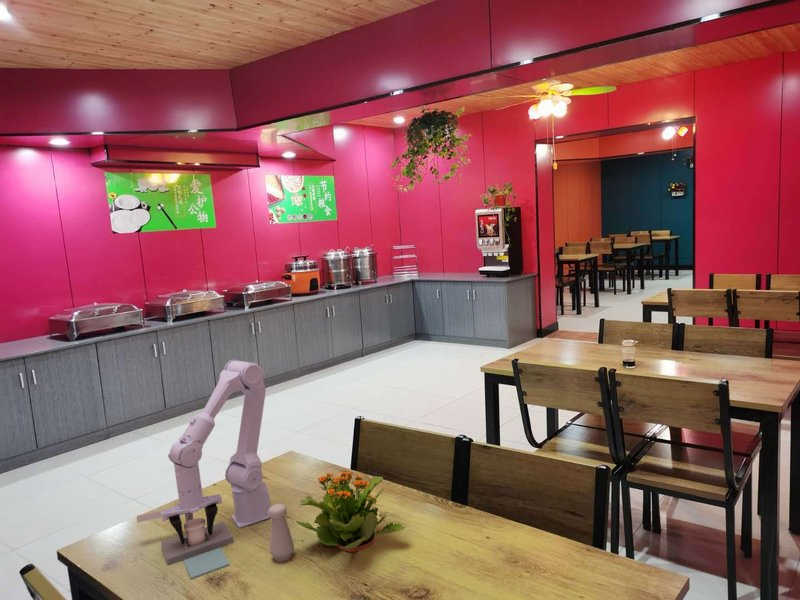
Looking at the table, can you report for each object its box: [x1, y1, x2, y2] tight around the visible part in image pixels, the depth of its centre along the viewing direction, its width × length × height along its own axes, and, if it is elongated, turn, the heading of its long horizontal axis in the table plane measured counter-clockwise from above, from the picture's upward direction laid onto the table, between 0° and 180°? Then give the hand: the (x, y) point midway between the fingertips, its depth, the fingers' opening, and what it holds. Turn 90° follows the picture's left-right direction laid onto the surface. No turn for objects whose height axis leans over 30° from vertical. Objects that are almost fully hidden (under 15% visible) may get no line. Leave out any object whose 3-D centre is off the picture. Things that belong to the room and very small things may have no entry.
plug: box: [183, 517, 207, 547], centre depth 148 cm, size 5×5×6 cm
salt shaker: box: [268, 503, 295, 563], centre depth 139 cm, size 6×6×13 cm
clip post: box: [184, 512, 194, 523], centre depth 155 cm, size 2×2×6 cm
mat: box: [183, 547, 231, 580], centre depth 140 cm, size 9×9×1 cm
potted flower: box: [295, 471, 406, 553], centre depth 142 cm, size 25×24×18 cm
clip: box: [136, 508, 168, 523], centre depth 153 cm, size 14×2×1 cm, turn 110°
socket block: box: [160, 521, 234, 566], centre depth 148 cm, size 16×10×2 cm, turn 121°
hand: (196, 537), depth 148 cm, fingers open, 6 cm apart
